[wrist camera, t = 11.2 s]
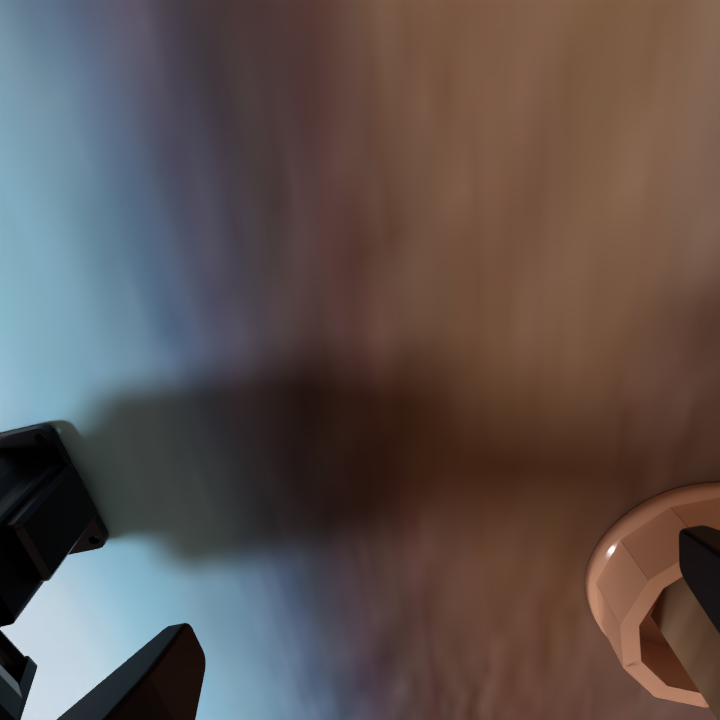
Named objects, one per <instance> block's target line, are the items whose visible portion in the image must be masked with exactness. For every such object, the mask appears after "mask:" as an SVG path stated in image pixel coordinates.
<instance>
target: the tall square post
mask: <svg viewBox="0 0 720 720" xmlns="http://www.w3.org/2000/svg"><path fill="white" fill-rule="evenodd" d="M651 617H652V619H653V620H654V622H655V623H656V625H657V626H658V628H659V630H660V631H661V633H662V634H663V636H664V637H665V639H666V640H667V642H668V644H669V645H670V647H671V648H672V650H673V651H674V653H675V654H676V656H677V657H678V659H679V661H680V662H681V664H682V665H683V667H684V668H685V670H686V671H687V673H688V674H689V676H690V678H691V679H692V681H693V682H694V684H695V685H696V687H697V688H698V690H699V692H700V693H701V695H702V696H703V698H704V699H705V701H706V702H707V704H708V705H709V707H710V709H711V710H712V712H713V713H714V715H715V716H716V718H717V719H718V720H720V634H719V633H718V631H717V630H716V628H715V627H714V625H713V624H712V622H711V621H710V619H709V617H708V616H707V614H706V613H705V611H704V610H703V608H702V607H701V605H700V604H699V602H698V601H697V599H696V597H695V596H694V594H693V593H692V591H691V590H690V588H689V587H688V585H687V584H686V582H685V580H684V578H683V577H681V578H679V579H678V580H676V581H675V582H673V583H671V584H670V585H668V586H666V587H665V588H663V591H662V593H661V595H660V597H659V599H658V601H657V603H656V605H655V608H654V610H653V612H652V614H651Z"/></svg>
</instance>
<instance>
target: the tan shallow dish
mask: <svg viewBox="0 0 720 720" xmlns="http://www.w3.org/2000/svg"><path fill="white" fill-rule="evenodd" d="M699 525H705V526H709V527H712V528H715V529H718V530H720V482H716V483H701V484H694V485H688V486H684V487H680V488H676V489H673V490H670V491H667V492H664V493H662V494H659V495H657V496H655V497H653V498H651V499H648V500H646V501H645V502H643V503H641V504H640V505H638V506H636V507H635V508H633V509H632V510H630V511H629V512H628V513H626V514H625V515H624V516H622V517H621V518H620V519H619V520H618V521H617V522H616V523H614V524H613V525H612V526H611V527H610V528H609V530H608V531H607V532H606V533H605V534H604V535H603V537H602V538H601V540H600V541H599V543H598V544H597V546H596V547H595V549H594V551H593V553H592V555H591V557H590V559H589V563H588V566H587V569H586V575H585V594H586V599H587V602H588V605H589V607H590V610H591V612H592V614H593V616H594V618H595V620H596V621H597V623H598V625H599V627H600V628H601V630H602V631H603V632H604V634H605V635H606V636H607V637H608V639H609V641H610V643H611V645H612V647H613V648H614V650H615V652H616V654H617V656H618V658H619V660H620V662H621V664H622V666H623V668H624V669H625V670H626V671H627V672H629V673H630V674H631V675H632V676H633V677H634V678H635V679H636V680H637V681H638V682H639V683H640V684H641V685H643V686H644V687H645V688H646V689H647V690H648V691H649V692H650V693H651V694H652V695H653V696H654V697H658V698H663V699H667V700H672V701H677V702H682V703H686V704H691V705H696V706H700V707H709V705H708V704H707V702H706V701H705V699H704V698H703V696H702V695H701V693H700V692H699V690H698V688H697V687H696V685H695V684H694V682H693V681H692V679H691V678H690V676H689V674H688V673H687V671H686V670H685V668H684V667H683V665H682V664H681V662H680V661H679V659H678V657H677V656H676V654H675V653H674V651H673V650H672V648H671V647H670V645H669V644H668V642H667V640H666V639H665V637H664V636H663V634H662V633H661V631H660V630H659V628H658V626H657V625H656V623H655V622H654V620H653V619H652V617H651V614H652V612H653V610H654V608H655V605H656V603H657V601H658V599H659V597H660V595H661V593H662V591H663V588H665V587H666V586H668V585H670V584H671V583H673V582H675V581H676V580H678V579H679V578H681V577H683V576H682V574H681V571H680V567H679V532H680V530H682V529H683V528H688V527H693V526H699Z"/></svg>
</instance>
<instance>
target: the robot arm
mask: <svg viewBox="0 0 720 720" xmlns="http://www.w3.org/2000/svg"><path fill="white" fill-rule="evenodd" d="M40 434H42V435H44V436H45V437H46V439H43V438H42V437H41V436H40ZM94 536H97V537H98V538H99V539H97V538H95V537H94ZM108 537H109V534H108V531H107V529H106V527H105V525H104V523H103V521H102V520H101V518H100V516H99V514H98V512H97V509H96V507H95V505H94V503H93V501H92V499H91V497H90V495H89V494H88V492H87V490H86V488H85V486H84V484H83V482H82V480H81V478H80V476H79V474H78V472H77V470H76V469H75V467H74V465H73V463H72V461H71V459H70V457H69V455H68V454H67V452H66V450H65V448H64V446H63V444H62V442H61V440H60V438H59V436H58V434H57V432H56V431H55V429H54V428H52V427H51V426H49V425H46V424H40V425H35V426H31V427H27V428H22V429H18V430H14V431H9V432H5V433H1V434H0V627H1V626H6V625H11V624H13V623H14V622H15V621H16V619H17V618H18V617H19V615H20V614H21V613H22V611H23V610H24V608H25V607H26V606H27V604H28V603H29V602H30V600H31V599H32V597H33V596H34V595H35V593H36V592H37V591H38V589H39V588H40V586H41V585H42V584H43V582H44V581H48V580H50V579H51V578H52V576H53V575H54V573H55V572H56V571H57V569H58V568H59V566H60V565H61V564H62V562H63V561H64V559H65V558H66V557H67V555H69V554H74V553H79V552H84V551H89V550H94V549H98V548H101V547H103V546H104V544H105V543H106V541H107V540H108ZM679 567H680V571H681V574H682V576H683V578H684V580H685V582H686V584H687V585H688V587H689V588H690V590H691V591H692V593H693V594H694V596H695V597H696V599H697V601H698V602H699V604H700V605H701V607H702V608H703V610H704V611H705V613H706V614H707V616H708V617H709V619H710V621H711V622H712V624H713V625H714V627H715V628H716V630H717V631H718V633H719V634H720V530H718V529H715V528H712V527H709V526H705V525H699V526H693V527H688V528H683V529H682V530H680V532H679ZM36 669H37V665H36V664H35V663H34V661H33V660H32V659H31V658H30V657H29V656H24V655H23V654H22V653H21V652H20V651H19V650H18V649H17V647H16V646H15V645H14V644H13V643H12V642H11V641H10V640H9V639H8V638H7V637H6V635H5V634H4V633H3V632H2V631H1V630H0V720H21V716H22V713H23V710H24V707H25V704H26V701H27V698H28V694H29V691H30V688H31V685H32V682H33V679H34V676H35V672H36ZM204 672H205V655H204V652H203V650H202V648H201V646H200V643H199V641H198V639H197V637H196V635H195V633H194V631H193V629H192V627H191V626H190V625H189V624H187V623H183V624H177V625H172V626H168V627H167V628H165V629H164V630H163V631H161V632H160V633H159V634H158V635H157V636H155V637H154V638H153V639H152V640H151V641H150V642H148V643H147V644H146V645H145V646H144V647H142V648H141V649H140V650H139V651H138V652H136V653H135V654H134V655H133V656H132V657H130V658H129V659H128V660H127V661H126V662H125V663H123V664H122V665H121V666H120V667H119V668H117V669H116V670H115V671H114V672H113V673H111V674H110V675H109V676H108V677H107V678H106V679H104V680H103V681H102V682H101V683H100V684H98V685H97V686H96V687H95V688H94V689H92V690H91V691H90V692H89V693H88V694H86V695H85V696H84V697H83V698H82V699H81V700H79V701H78V702H77V703H76V704H75V705H73V706H72V707H71V708H70V709H69V710H67V711H66V712H65V713H64V714H63V715H62V716H60V717H59V718H58V719H57V720H195V718H196V713H197V708H198V703H199V698H200V693H201V688H202V682H203V677H204Z"/></svg>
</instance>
